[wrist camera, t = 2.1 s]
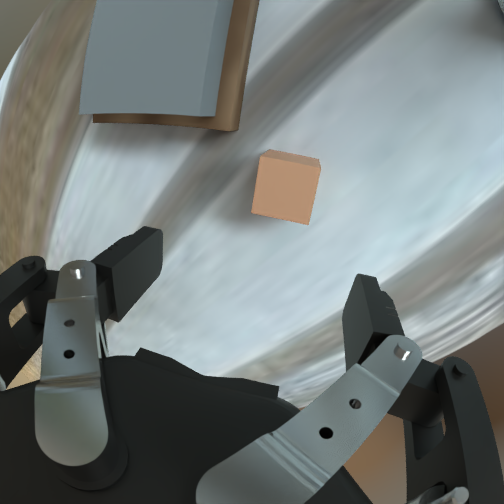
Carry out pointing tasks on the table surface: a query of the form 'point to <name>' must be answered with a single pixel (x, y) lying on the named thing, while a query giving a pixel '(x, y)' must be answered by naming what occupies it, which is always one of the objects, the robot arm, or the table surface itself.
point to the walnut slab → (229, 80)
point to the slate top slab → (155, 57)
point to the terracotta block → (286, 186)
